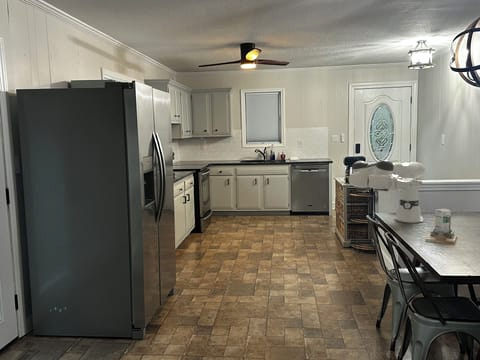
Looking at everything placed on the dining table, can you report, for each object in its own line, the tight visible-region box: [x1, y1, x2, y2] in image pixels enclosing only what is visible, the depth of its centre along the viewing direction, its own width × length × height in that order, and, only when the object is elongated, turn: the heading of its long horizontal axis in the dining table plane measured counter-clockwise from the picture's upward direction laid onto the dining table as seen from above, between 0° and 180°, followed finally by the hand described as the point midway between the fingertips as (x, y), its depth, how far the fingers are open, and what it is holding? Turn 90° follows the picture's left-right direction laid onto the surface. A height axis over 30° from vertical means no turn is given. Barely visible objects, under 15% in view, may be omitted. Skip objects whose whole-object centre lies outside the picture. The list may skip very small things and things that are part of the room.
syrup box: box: [434, 208, 452, 233], centre depth 235 cm, size 6×6×14 cm
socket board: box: [425, 227, 458, 245], centre depth 233 cm, size 18×14×6 cm
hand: (420, 183), depth 239 cm, fingers open, 8 cm apart
